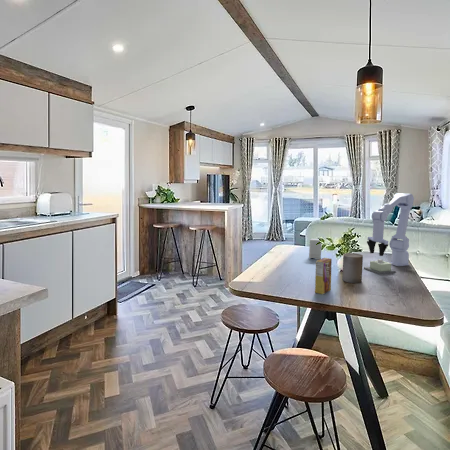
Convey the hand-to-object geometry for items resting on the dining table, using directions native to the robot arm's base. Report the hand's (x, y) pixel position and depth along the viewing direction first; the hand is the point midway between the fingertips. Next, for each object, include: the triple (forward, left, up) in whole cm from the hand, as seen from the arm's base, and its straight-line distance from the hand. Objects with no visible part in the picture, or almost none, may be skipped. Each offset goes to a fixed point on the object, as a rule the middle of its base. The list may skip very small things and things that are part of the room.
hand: (376, 254), depth 212 cm
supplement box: (+18, -36, -9) cm, 41 cm away
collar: (0, +4, -8) cm, 9 cm away
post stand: (0, +3, -9) cm, 9 cm away
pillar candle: (+29, +15, -9) cm, 34 cm away
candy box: (+54, +26, -9) cm, 61 cm away
